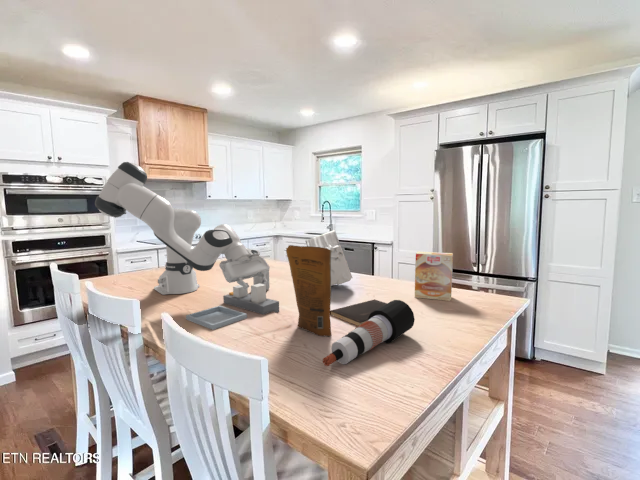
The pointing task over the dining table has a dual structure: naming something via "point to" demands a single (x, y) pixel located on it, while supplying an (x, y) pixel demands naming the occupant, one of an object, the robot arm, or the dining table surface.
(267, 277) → the can
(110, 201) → the robot arm
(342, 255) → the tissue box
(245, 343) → the dining table surface
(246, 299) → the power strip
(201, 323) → the tray
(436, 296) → the coffeecake box
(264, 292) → the grey rectangular block
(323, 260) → the pancake mix bag
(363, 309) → the hardcover book
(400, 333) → the cable
